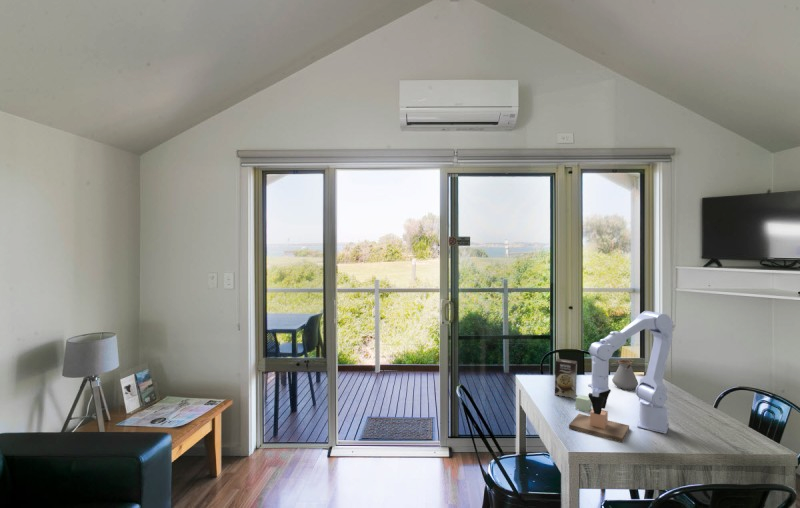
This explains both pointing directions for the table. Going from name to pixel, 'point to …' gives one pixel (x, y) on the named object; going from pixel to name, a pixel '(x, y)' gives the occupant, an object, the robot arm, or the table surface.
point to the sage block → (583, 403)
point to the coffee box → (565, 378)
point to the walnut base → (610, 432)
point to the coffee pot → (625, 376)
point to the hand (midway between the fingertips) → (599, 410)
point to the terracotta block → (599, 419)
